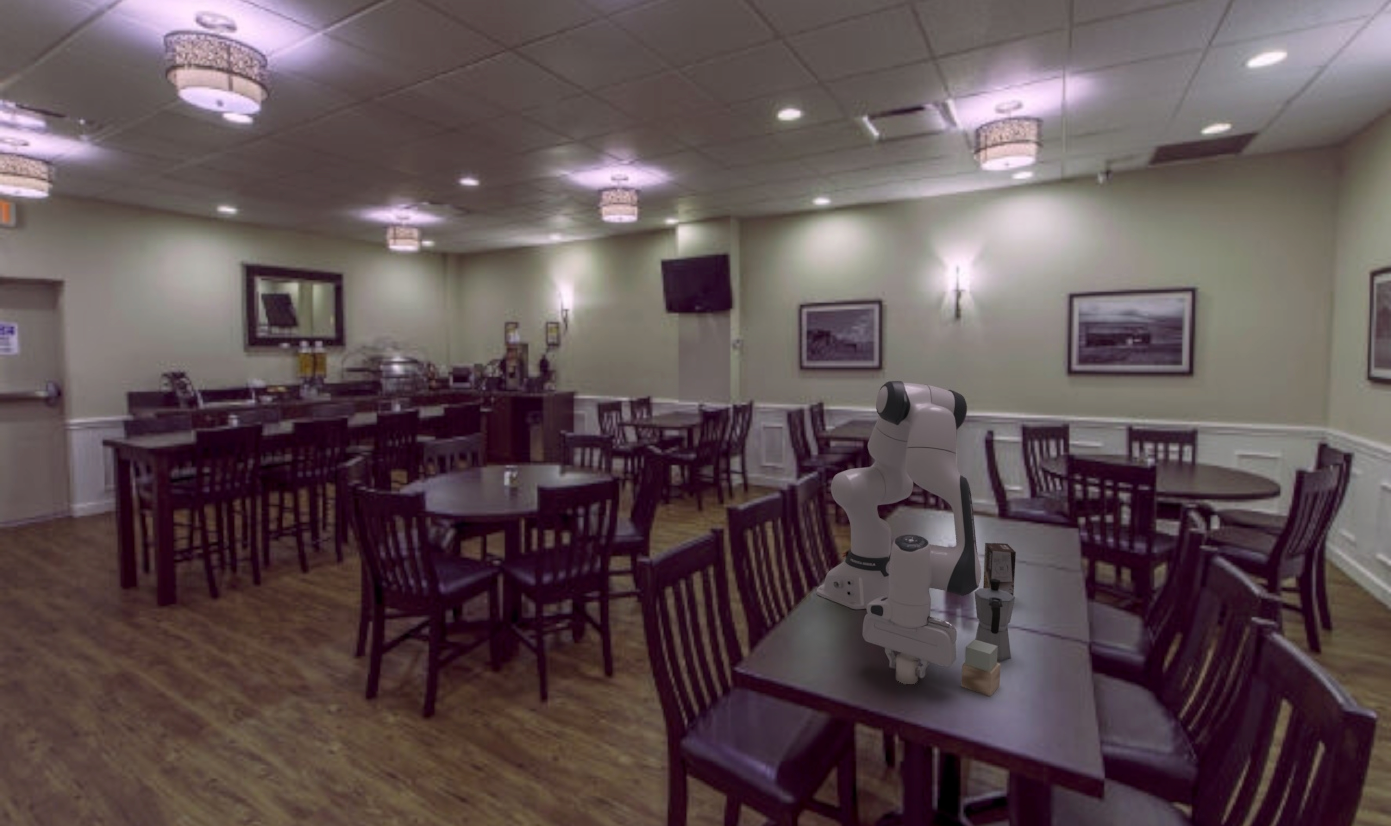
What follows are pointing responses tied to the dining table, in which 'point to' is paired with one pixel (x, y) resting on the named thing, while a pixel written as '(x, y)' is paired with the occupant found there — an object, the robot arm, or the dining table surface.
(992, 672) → the tower base
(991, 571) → the coffee box
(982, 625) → the coffee maker
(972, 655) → the tower top
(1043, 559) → the dining table surface
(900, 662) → the grey rounded cylinder
